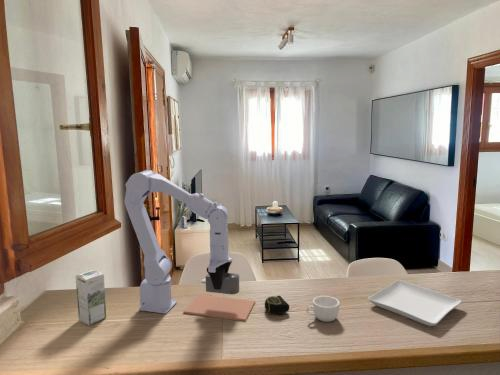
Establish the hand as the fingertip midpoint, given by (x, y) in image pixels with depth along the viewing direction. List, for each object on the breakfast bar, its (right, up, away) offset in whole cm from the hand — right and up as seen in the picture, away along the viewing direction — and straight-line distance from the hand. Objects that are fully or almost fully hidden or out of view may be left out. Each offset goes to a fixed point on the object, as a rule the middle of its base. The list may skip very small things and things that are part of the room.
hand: (220, 285), depth 113 cm
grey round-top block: (0, -1, 0) cm, 1 cm away
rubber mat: (0, -7, +1) cm, 8 cm away
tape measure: (+18, -8, 0) cm, 20 cm away
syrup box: (-38, -9, -6) cm, 39 cm away
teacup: (+31, -9, -6) cm, 33 cm away
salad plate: (+62, -8, +1) cm, 62 cm away
